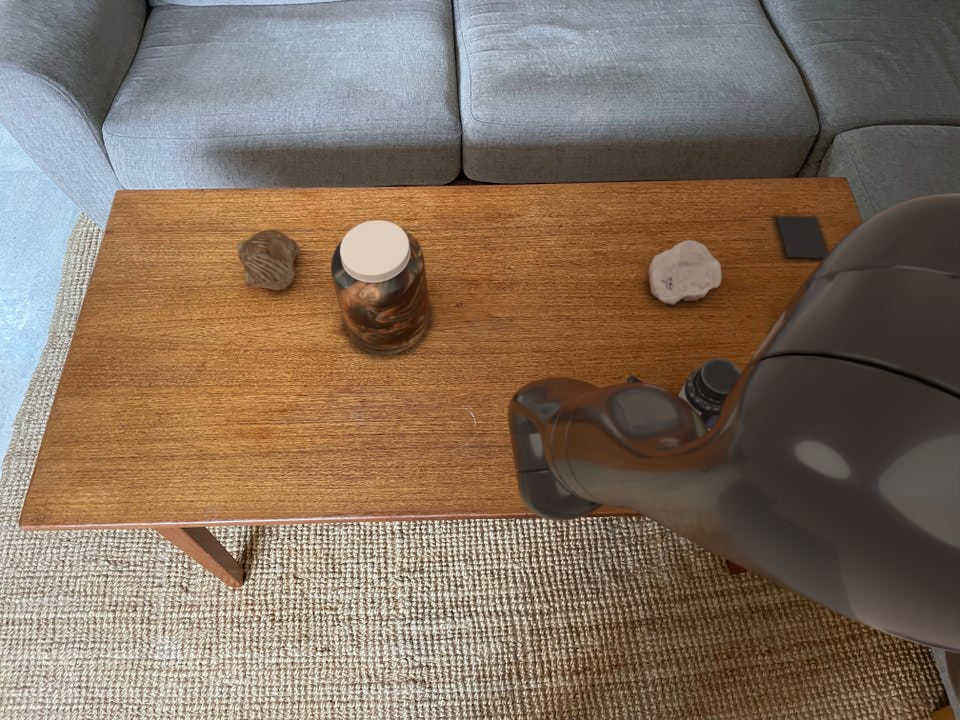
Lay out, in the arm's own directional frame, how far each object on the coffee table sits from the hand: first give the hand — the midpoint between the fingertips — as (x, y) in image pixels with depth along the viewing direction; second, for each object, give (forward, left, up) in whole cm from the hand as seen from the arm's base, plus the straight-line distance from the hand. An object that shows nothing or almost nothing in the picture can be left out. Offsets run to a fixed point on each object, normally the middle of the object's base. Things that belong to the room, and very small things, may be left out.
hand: (685, 418), depth 77 cm
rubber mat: (+10, -39, -4) cm, 41 cm away
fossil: (+16, -18, -5) cm, 25 cm away
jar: (+37, +18, -5) cm, 41 cm away
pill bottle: (0, -3, -5) cm, 6 cm away
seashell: (+54, +26, -5) cm, 60 cm away
